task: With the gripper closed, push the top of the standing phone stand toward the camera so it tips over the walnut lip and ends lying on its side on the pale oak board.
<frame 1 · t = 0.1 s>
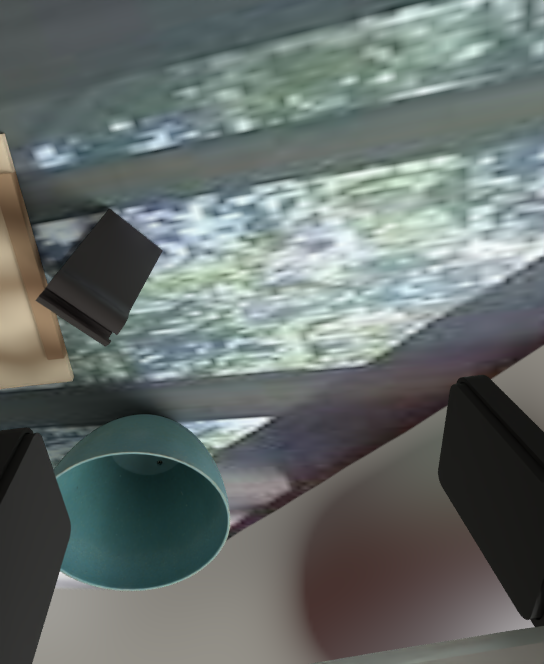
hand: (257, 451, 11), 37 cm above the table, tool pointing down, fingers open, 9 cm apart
plant pot: (147, 442, 56), on the table
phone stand: (108, 263, 46), on the table
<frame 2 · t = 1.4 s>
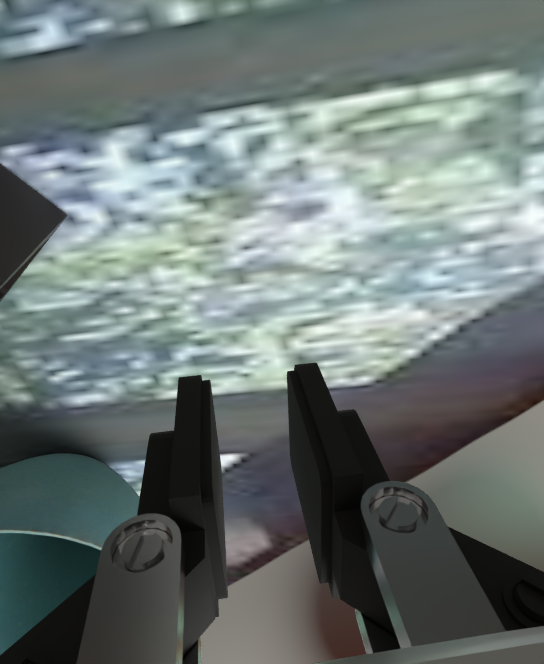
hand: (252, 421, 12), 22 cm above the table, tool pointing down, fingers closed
plant pot: (70, 488, 40), on the table
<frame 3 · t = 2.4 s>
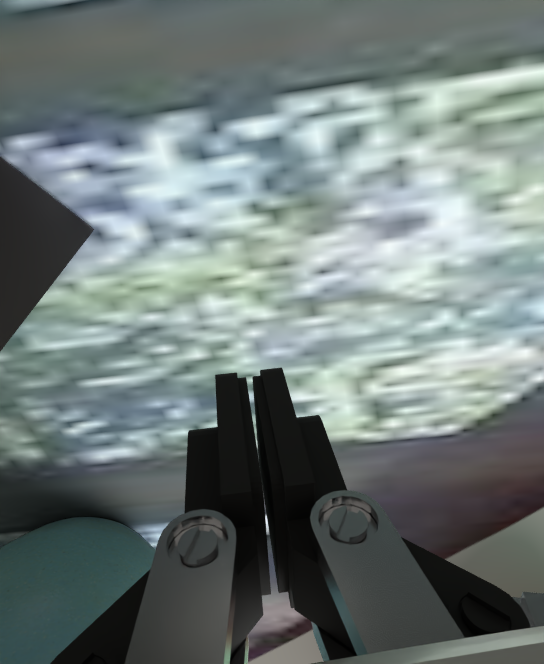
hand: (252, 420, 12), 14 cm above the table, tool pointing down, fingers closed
plant pot: (87, 554, 33), on the table
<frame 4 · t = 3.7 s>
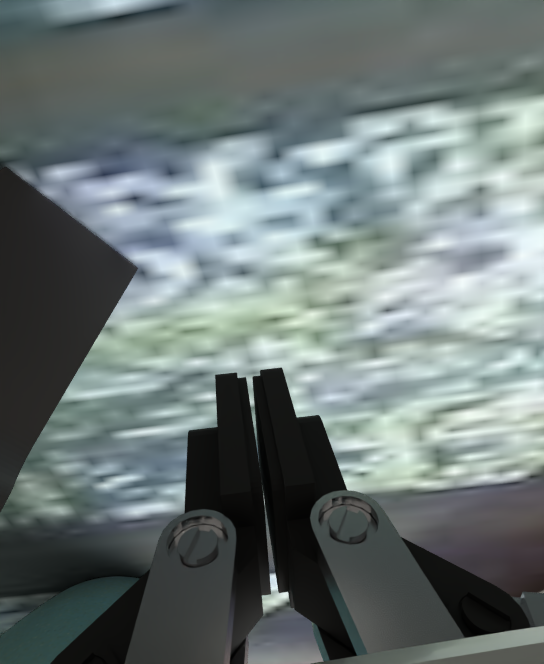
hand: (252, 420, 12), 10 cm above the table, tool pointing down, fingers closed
plant pot: (115, 615, 30), on the table
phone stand: (17, 295, 20), on the table
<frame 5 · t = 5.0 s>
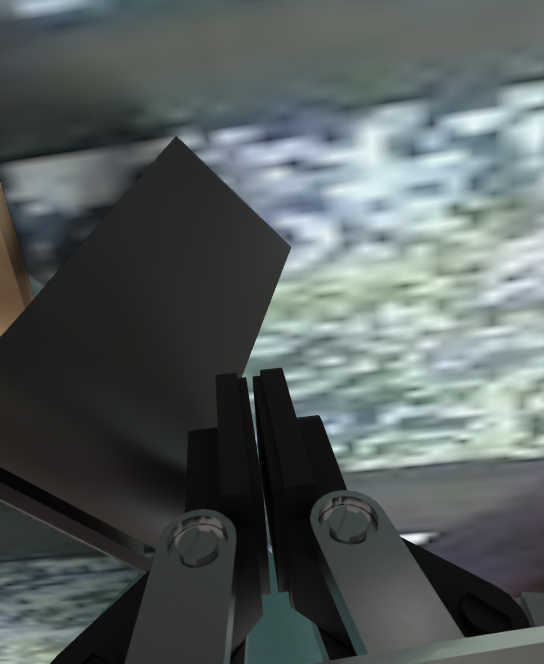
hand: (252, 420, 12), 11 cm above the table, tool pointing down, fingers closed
plant pot: (212, 575, 31), on the table
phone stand: (167, 264, 20), point 1 cm above the table
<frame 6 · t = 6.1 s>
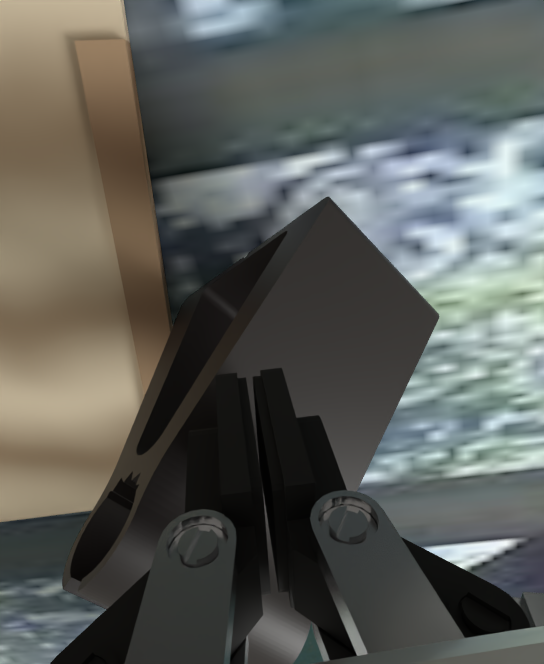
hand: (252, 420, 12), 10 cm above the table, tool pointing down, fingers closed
plant pot: (304, 583, 31), on the table
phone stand: (300, 300, 19), point 2 cm above the table, touching gripper
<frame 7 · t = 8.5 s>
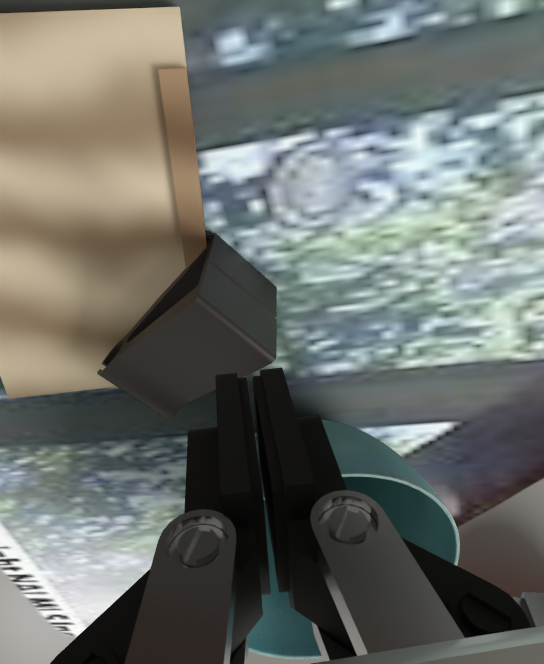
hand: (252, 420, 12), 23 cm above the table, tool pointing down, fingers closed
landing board: (83, 229, 32), on the table
plant pot: (298, 455, 43), on the table
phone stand: (245, 288, 30), point 5 cm above the table, touching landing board
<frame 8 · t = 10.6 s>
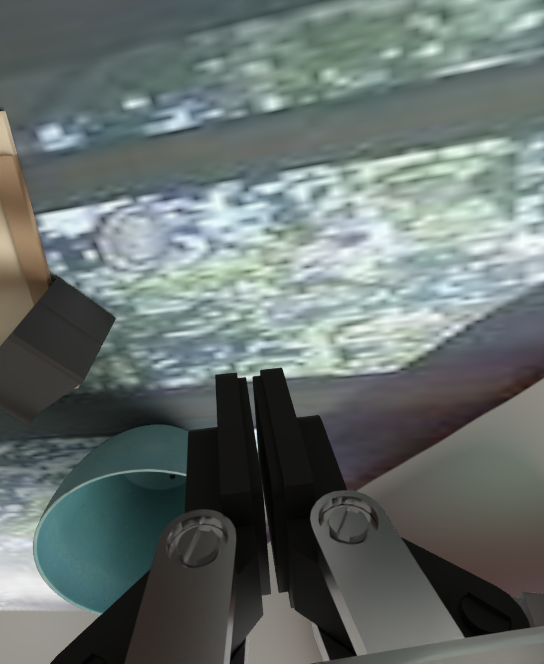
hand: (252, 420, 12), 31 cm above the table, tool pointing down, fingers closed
plant pot: (159, 454, 51), on the table
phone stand: (71, 323, 38), point 5 cm above the table, touching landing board
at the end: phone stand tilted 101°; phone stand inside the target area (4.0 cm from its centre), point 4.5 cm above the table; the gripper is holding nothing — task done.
